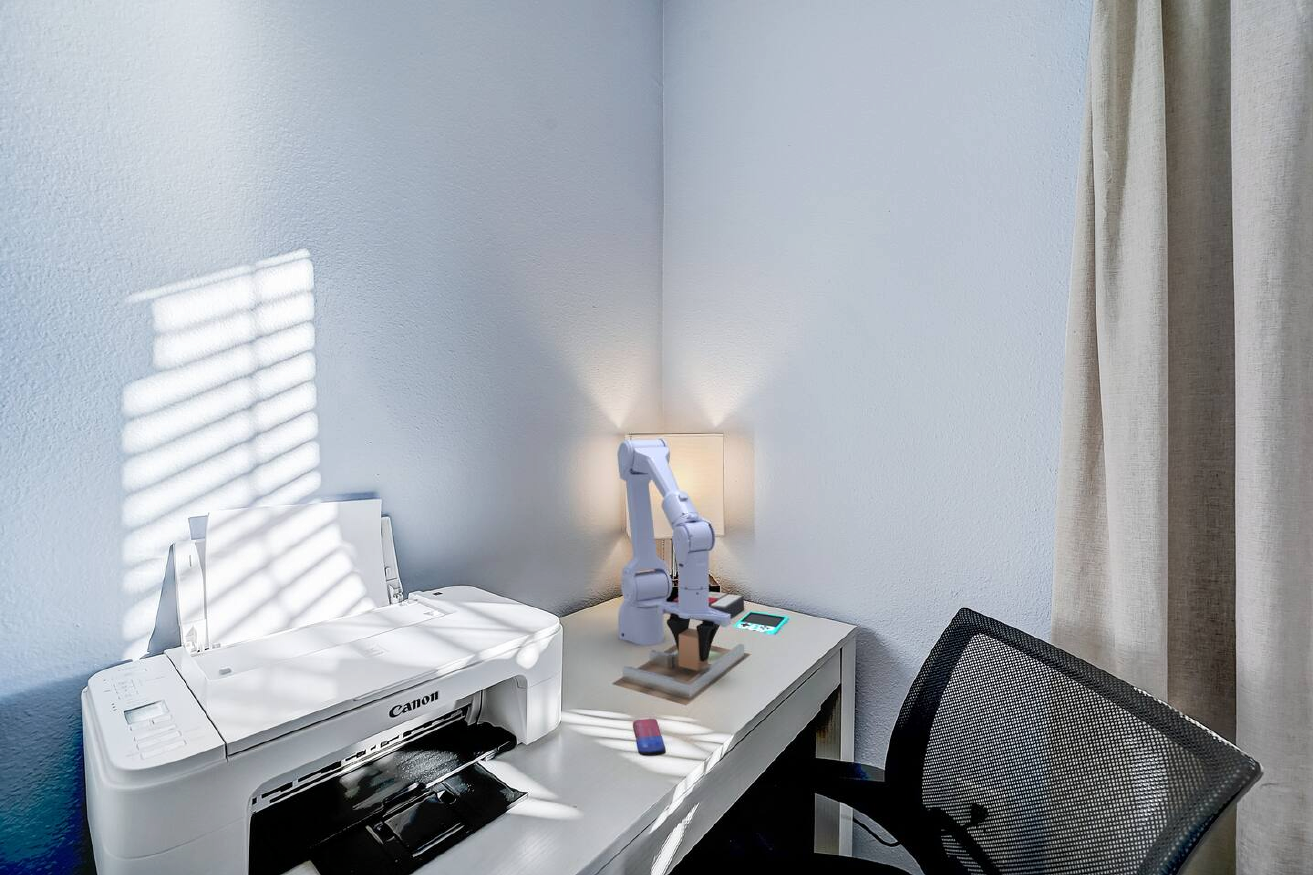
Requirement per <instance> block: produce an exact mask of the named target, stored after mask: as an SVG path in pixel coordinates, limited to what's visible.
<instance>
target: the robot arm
mask: <svg viewBox="0 0 1313 875" xmlns="http://www.w3.org/2000/svg"><path fill="white" fill-rule="evenodd" d="M616 456H617V466H618V473H619V478H620V480H622V481H624V482H625V487H626V488H625V489H626V497H627V498H626V499H627V509H628V517H629V518H628V520H629V528H630V538H631V539H630V540H631V548H632V558H631V559H630V560H629V561H628V562H627V563H626V564H625V565H624V566H623V568H622V569H621V575H622V576H621V586H620V587H621V589H620V591H621V594H622V596H623V597H622V598H623V599H624V600H623V601H622V603H621V604H620V606H619V610H618V615H617V618H618V619H617V620H618V621H617V622H618V625H617V626H618V629H617V630H618V632H617V633H618V639H620V640H623V641H628V642H631V643H633V644H636V645H640V646H654V645H658V644H660V643H661V644H662V642H663V641H664V637H665V636H664V634H665V633H664V628H665V627H664V624H665V623H664V622H665V621H664V618H665V616H664V614H666V615H669V618H667V619H666V624H667V627H668V628H669V631H670V632H671V633H672V637H673V639H674V641H675V645H677V649H678V653H679V634H680V633H682V632H684V631H685V630H687V629H689V628H690V621H691V620H696V621H699V622H702V623H699V624H698V625H696V626H695V628H696V630H697V632H698V637H699V655H700V661H703V662H704V661H705V660H707V659H708V657H709V652H710V648H711V645H712V643H713V641H714V638H715V636H716V634H717V632H718V631H719V629H720V627H721V628H727V627H728V626H730V625H731V620H732V619H731V614H727V613H724V612H721V611H718V610H715V609H713V608H710V607H709V592H710V589H709V588H710V577H709V576H710V561H709V560H710V559H709V558H710V557H709V556H710V551H713V549H714V547H715V545H716V534H715V530H714V527H713V525H712V523H711V522H710V521H709V520H707V519H705V517H704V516H700V515H699V513H698V511H697V509H696V507H695V505H694V503H693V501H692V499H691V498H690V496H689V494H688V493H687V492H686V491H684V490H680V488H679V486H678V483H677V481H676V479H675V476H674V473H673V472H672V471H673V470H672V469H671V466H670V459H671V451H670V448H669V445H668V443H667V440H665V439H664V438H656V439H623V440H622V441H621V443H620V444H619V447H618V450H617V455H616ZM651 481H652V482H653V483H654V485H655V487H656V489H657V490H658V491H659V493H660V495H661V496H662V498H663V499H662V500H661V501H662V502H661V505H660V506H661V509H662V510H663V512H664V514H665V517H666V519H667V521H668V523H669V525H670V527H671V529H672V531H673V534H672V535H671V539H672V541H671V542H672V545H673V549H674V554H675V561H676V563H677V564H678V565H677V566H678V568H677V570H678V571H677V572H678V573H677V574H678V578H677V579H678V580H677V581H678V585H677V589H678V590H677V591H678V592H677V595H678V596H677V598H678V603H673V602H672V601H667V599H668V598H669V597H670V596H671V594H672V591H673V581H672V578H671V577H672V576H671V575H670V572H669V567H668V563H666V562H665V561H664V560H663V559H661V558H660V557H658V556H657V551H656V548H657V547H656V542H655V541H656V539H655V531H654V521H653V520H654V519H653V511H652V510H653V509H652V504H651V502H652V501H651V494H650V483H651ZM648 570H649V571H648Z"/></svg>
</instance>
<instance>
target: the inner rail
mask: <svg viewBox="0 0 1313 875" xmlns="http://www.w3.org/2000/svg"><path fill="white" fill-rule="evenodd" d="M649 661H650V664H651V665H655V666H659V667H663V668H667V669H671V670H672V669H674V668H675V667H677V666H678V665H679V653H678V649H677V650H676V651H674V652H673V653H671V654H668V653H664V651H659V650H656V649H652V650H650V651H649Z"/></svg>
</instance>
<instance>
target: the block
mask: <svg viewBox="0 0 1313 875" xmlns="http://www.w3.org/2000/svg"><path fill="white" fill-rule="evenodd" d="M707 663H708V659H707V660H705V661H704V662H703V661H700V655H699V637H698V632H697V629H695V628H691V627H689V629H687V630H685V631H684V632H682V633H680V634H679V666H681V667H685V668H689V669H693V670H697V671H698V670H699V669H700V668H702V667H703V666H705V665H706V664H707Z"/></svg>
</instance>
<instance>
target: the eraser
mask: <svg viewBox="0 0 1313 875" xmlns="http://www.w3.org/2000/svg"><path fill="white" fill-rule="evenodd" d="M659 727H660V726H659V724H658V721H657V719H655V718H644V719H643V718H642V719H636V720H634V721H633V722H632V729H633V733H634V735H635V736H634V737H635V741H636V747H637V752H638V753H639V755H641V756H655V755H663V754H664V755H665V754H666V751H667V749H666V746H665V743H664V738H663V736H662V734H661V729H660V728H659Z"/></svg>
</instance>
